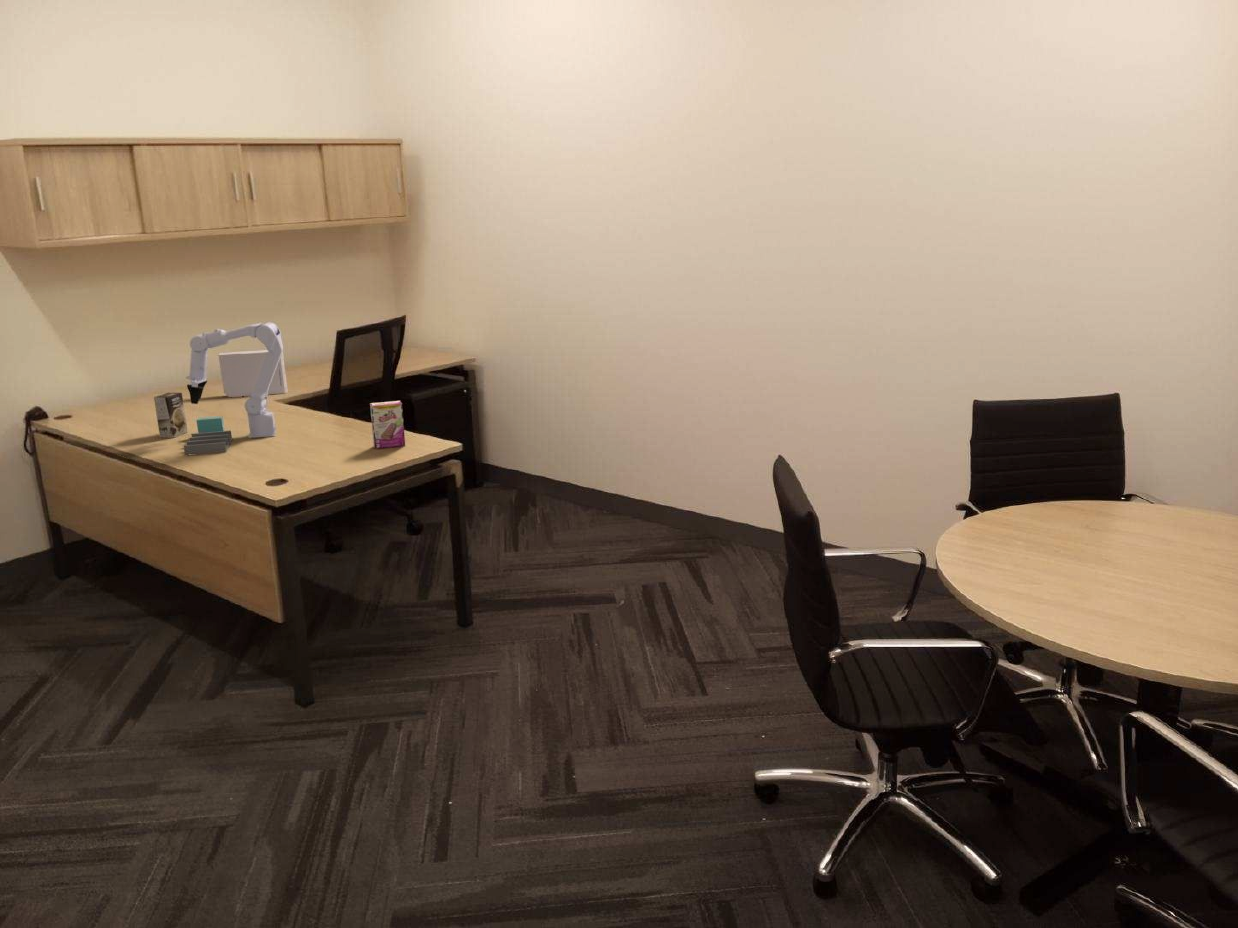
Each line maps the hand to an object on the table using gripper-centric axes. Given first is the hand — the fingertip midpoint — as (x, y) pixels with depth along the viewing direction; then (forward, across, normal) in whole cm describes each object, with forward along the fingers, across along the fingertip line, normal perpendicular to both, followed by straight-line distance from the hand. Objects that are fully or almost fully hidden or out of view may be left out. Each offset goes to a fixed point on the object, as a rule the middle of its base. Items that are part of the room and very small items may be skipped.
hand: (195, 401), depth 368 cm
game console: (+14, -74, +17) cm, 77 cm away
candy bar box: (-1, +37, +71) cm, 80 cm away
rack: (+13, +16, +8) cm, 22 cm away
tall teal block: (+14, 0, +7) cm, 15 cm away
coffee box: (+17, -8, -8) cm, 20 cm away
